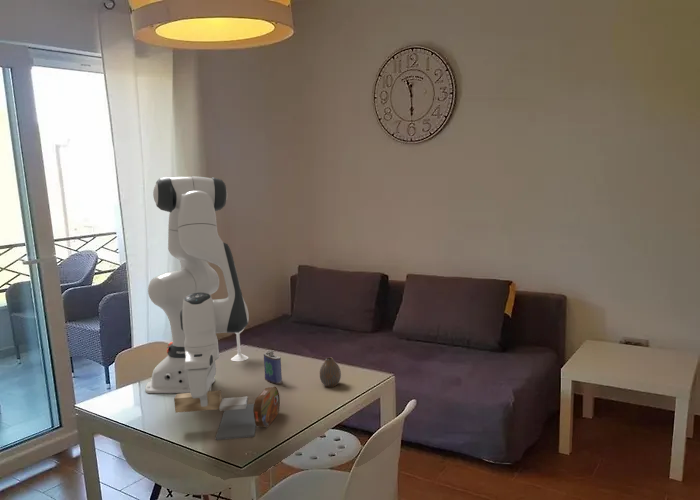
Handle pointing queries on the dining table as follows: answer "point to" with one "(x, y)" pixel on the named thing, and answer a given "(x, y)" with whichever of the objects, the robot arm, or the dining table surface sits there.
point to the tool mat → (237, 424)
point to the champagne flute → (239, 350)
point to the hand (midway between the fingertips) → (206, 402)
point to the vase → (330, 373)
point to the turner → (215, 401)
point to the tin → (266, 407)
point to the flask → (272, 368)
